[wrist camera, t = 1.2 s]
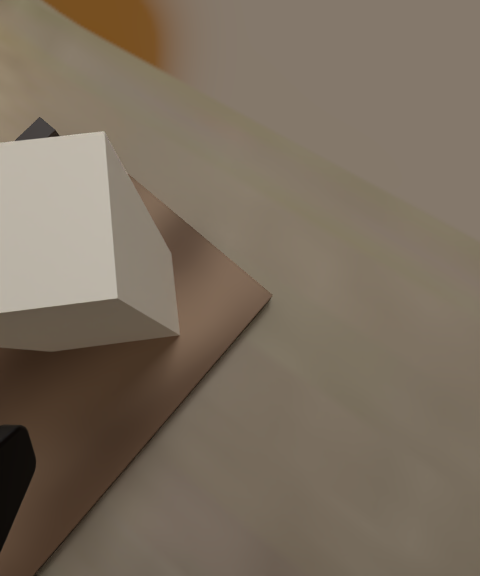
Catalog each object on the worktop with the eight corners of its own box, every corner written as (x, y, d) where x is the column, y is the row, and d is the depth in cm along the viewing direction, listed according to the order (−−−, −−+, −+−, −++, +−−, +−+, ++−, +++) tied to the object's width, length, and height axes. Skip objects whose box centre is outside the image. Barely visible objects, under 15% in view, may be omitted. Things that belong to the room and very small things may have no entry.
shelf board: (270, 298, 22) (272, 295, 21) (9, 603, 19) (-3, 616, 18) (91, 147, 23) (84, 137, 22) (-176, 413, 20) (-197, 415, 19)
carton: (179, 335, 20) (117, 298, 9) (51, 351, 20) (-165, 333, 9) (171, 250, 21) (104, 125, 10) (47, 265, 21) (-158, 154, 10)
